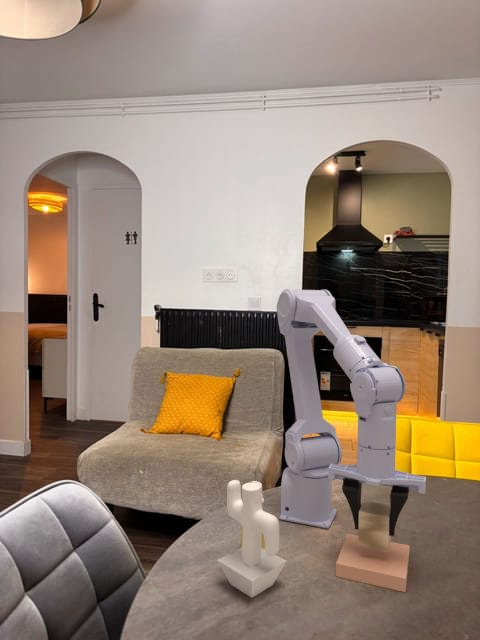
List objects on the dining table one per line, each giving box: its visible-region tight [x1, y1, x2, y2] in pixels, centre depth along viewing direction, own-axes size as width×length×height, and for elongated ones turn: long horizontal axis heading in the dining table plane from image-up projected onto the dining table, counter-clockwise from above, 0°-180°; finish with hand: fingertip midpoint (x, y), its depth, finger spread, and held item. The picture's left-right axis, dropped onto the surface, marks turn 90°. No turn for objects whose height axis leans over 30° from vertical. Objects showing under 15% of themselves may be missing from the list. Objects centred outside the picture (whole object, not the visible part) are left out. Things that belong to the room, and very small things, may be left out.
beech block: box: [357, 500, 392, 552], centre depth 75 cm, size 4×4×6 cm
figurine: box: [216, 479, 287, 599], centre depth 69 cm, size 7×9×15 cm
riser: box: [335, 533, 410, 593], centre depth 75 cm, size 10×10×2 cm
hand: (374, 529), depth 74 cm, fingers closed on beech block, 4 cm apart
